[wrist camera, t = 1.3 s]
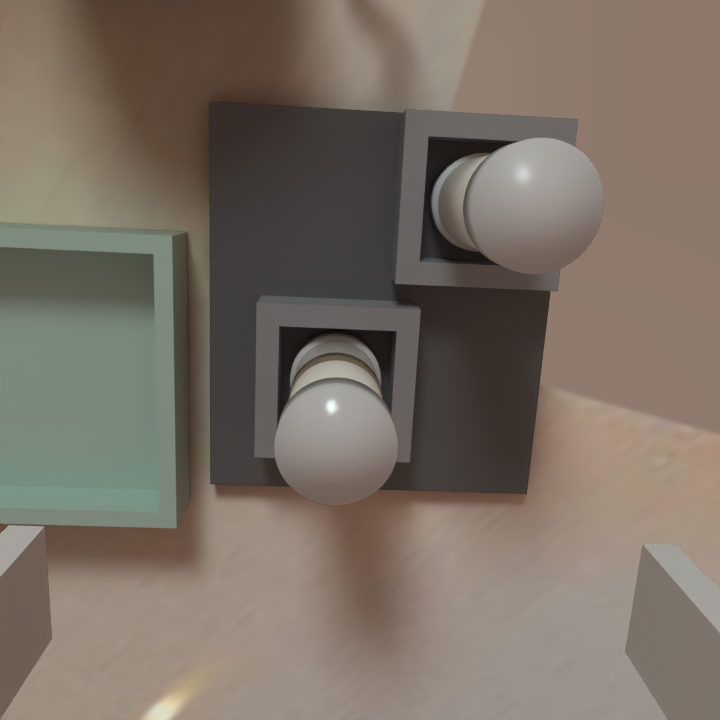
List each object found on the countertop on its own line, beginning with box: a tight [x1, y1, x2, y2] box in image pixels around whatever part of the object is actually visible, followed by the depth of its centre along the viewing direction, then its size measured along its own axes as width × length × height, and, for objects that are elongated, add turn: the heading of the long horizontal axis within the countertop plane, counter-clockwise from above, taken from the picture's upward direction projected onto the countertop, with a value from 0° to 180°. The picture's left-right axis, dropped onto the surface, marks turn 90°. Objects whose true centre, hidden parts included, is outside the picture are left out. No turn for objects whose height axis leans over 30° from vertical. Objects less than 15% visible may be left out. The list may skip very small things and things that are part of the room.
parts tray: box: [0, 223, 190, 528], centre depth 32 cm, size 14×14×3 cm
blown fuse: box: [274, 330, 398, 505], centre depth 28 cm, size 4×4×10 cm
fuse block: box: [210, 102, 604, 494], centre depth 28 cm, size 16×18×11 cm
